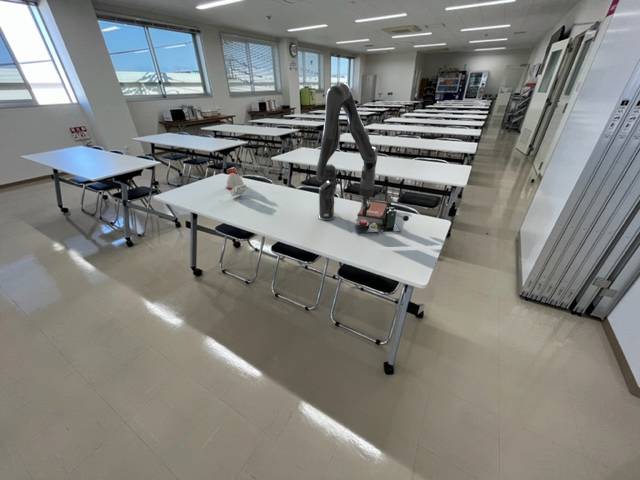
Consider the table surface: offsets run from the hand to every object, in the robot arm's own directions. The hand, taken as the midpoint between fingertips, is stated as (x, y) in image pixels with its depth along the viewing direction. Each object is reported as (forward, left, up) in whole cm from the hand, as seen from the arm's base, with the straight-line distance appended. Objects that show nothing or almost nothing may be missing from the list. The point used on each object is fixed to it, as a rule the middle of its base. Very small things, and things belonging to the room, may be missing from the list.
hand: (364, 215), depth 151 cm
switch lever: (+2, +19, -1) cm, 19 cm away
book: (-18, +11, -9) cm, 23 cm away
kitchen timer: (-78, -91, -9) cm, 121 cm away
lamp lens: (+5, +5, -5) cm, 8 cm away
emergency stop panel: (+3, +2, -9) cm, 9 cm away
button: (+1, 0, -5) cm, 5 cm away
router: (-48, -96, -9) cm, 108 cm away
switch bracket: (+2, +15, -9) cm, 17 cm away
